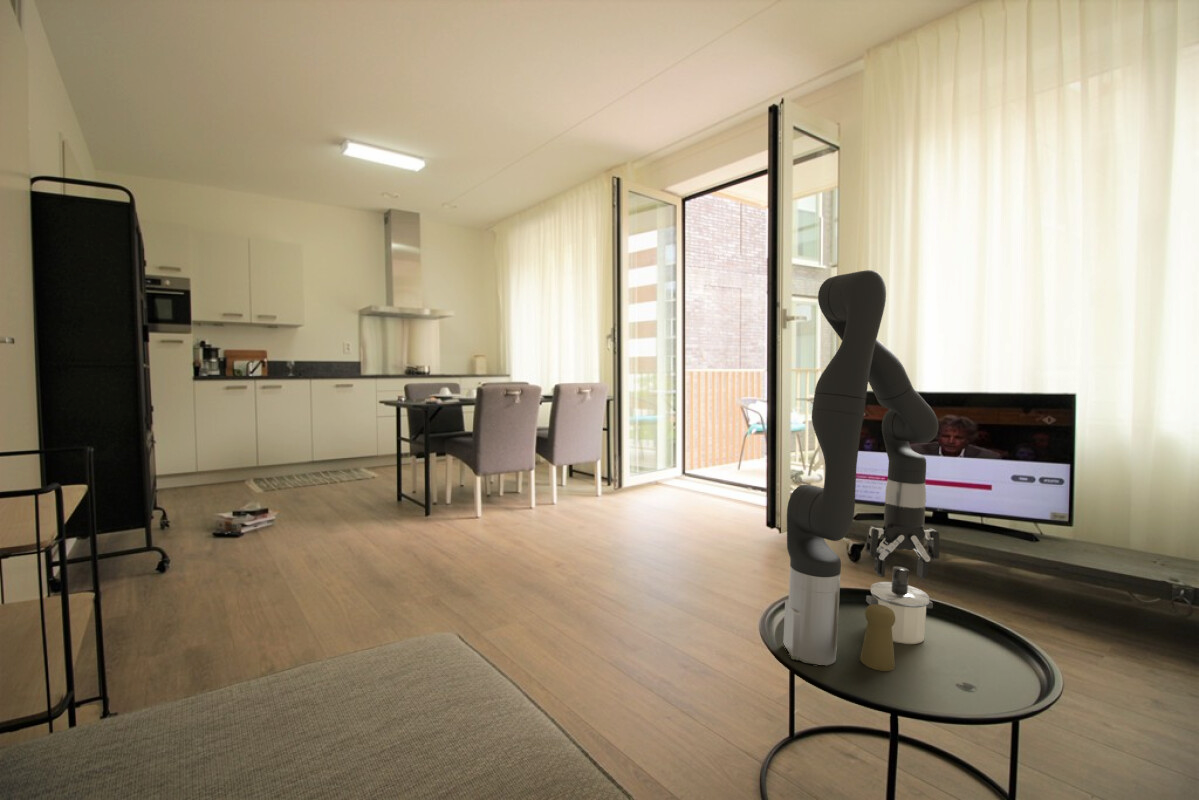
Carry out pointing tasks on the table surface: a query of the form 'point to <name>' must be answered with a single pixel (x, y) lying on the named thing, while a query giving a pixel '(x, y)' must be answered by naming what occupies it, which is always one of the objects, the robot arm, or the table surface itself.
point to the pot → (906, 621)
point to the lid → (900, 590)
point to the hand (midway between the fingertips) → (900, 576)
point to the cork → (878, 638)
